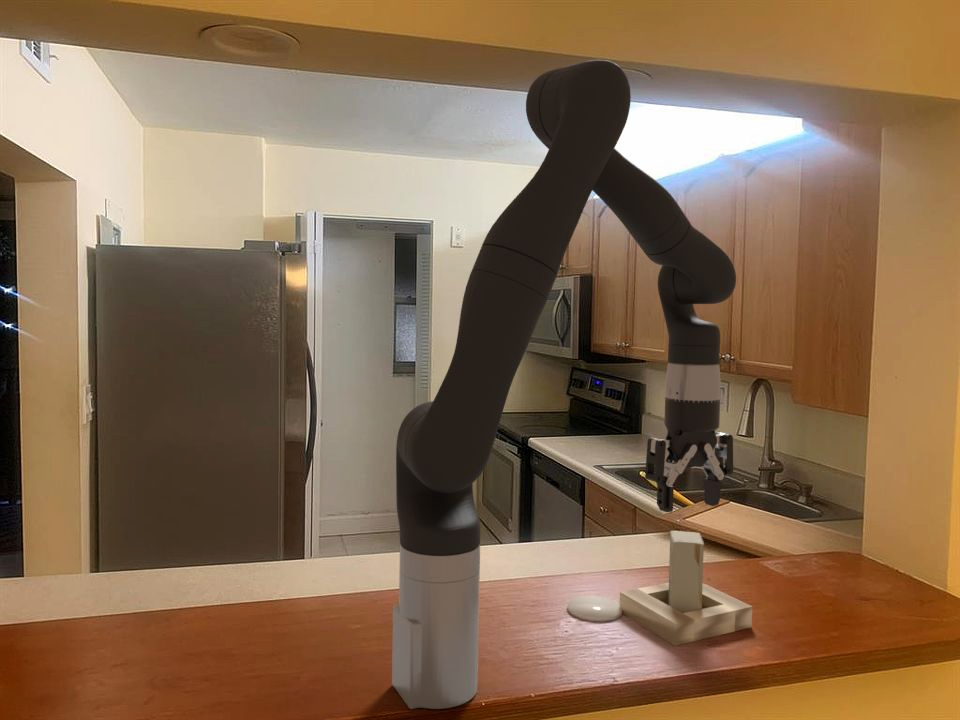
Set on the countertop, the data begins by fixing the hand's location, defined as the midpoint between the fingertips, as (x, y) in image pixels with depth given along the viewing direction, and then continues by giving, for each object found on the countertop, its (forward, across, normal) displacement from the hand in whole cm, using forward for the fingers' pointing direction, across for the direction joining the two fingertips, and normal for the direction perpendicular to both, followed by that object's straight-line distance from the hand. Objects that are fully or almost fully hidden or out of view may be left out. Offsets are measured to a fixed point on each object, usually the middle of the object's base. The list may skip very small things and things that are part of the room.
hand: (689, 507), depth 102 cm
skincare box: (+17, 0, 0) cm, 17 cm away
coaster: (+16, -10, +8) cm, 21 cm away
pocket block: (+16, 0, 0) cm, 16 cm away
